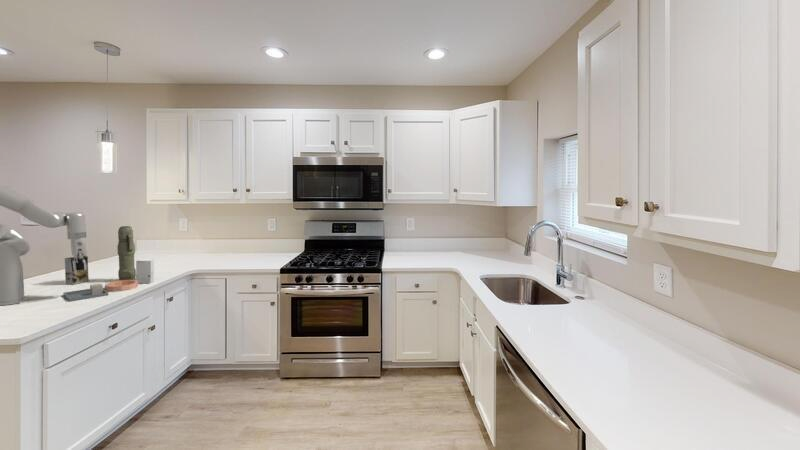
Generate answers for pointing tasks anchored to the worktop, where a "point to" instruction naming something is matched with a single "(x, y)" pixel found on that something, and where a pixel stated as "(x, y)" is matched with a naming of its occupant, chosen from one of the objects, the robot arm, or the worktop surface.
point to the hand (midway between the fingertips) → (79, 268)
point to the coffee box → (75, 272)
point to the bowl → (121, 285)
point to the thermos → (126, 254)
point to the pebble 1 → (75, 265)
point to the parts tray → (82, 295)
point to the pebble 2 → (96, 289)
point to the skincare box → (145, 271)
